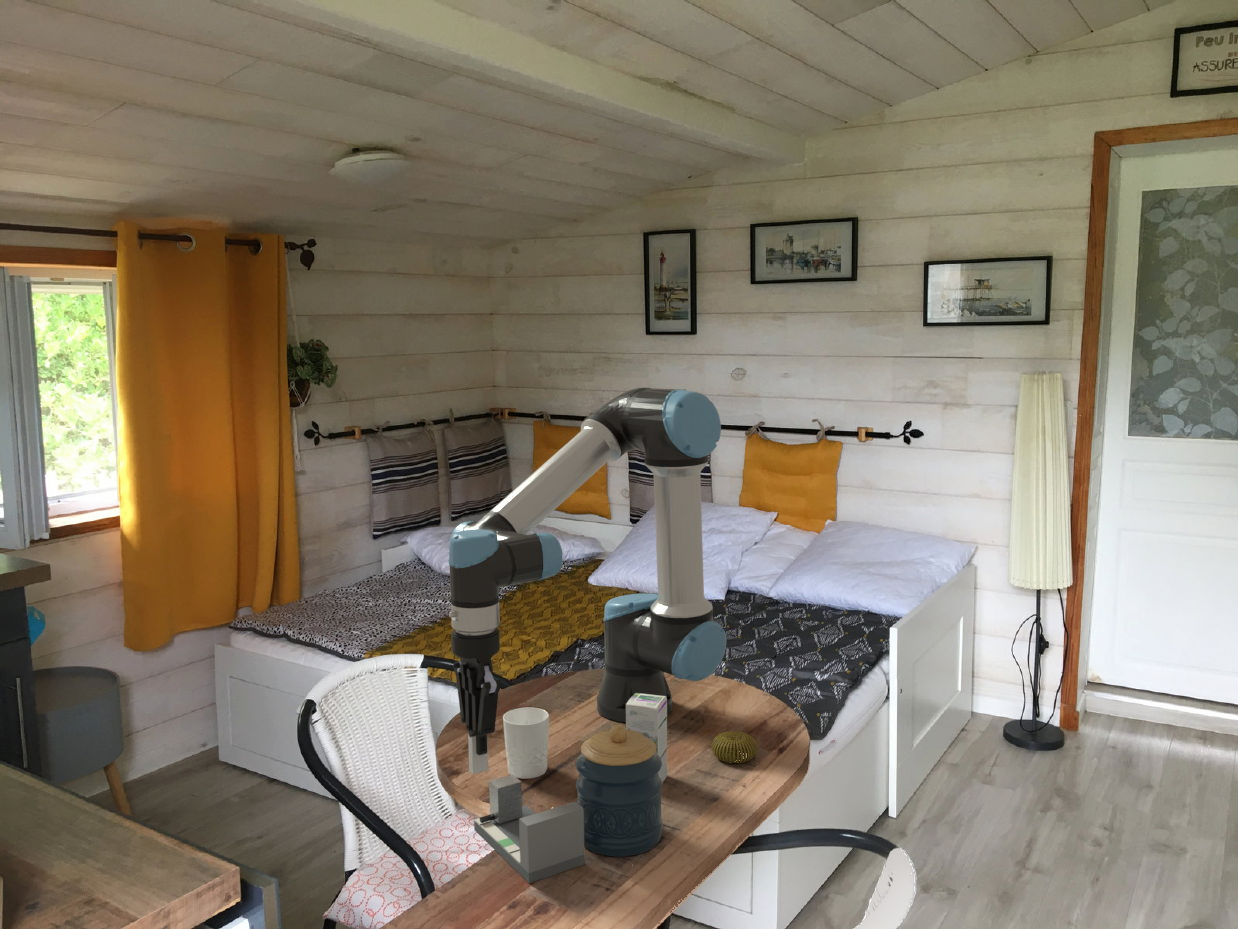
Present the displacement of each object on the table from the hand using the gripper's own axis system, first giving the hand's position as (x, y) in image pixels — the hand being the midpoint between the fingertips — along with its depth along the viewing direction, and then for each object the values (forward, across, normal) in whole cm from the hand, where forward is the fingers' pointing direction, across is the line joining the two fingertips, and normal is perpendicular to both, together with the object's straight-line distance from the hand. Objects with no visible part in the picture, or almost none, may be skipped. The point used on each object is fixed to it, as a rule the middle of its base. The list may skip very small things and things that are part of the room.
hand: (478, 770), depth 164 cm
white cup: (+6, -7, +12) cm, 15 cm away
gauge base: (+6, +16, 0) cm, 17 cm away
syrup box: (+6, +8, +27) cm, 29 cm away
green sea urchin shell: (+6, +9, +46) cm, 47 cm away
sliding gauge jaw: (+4, +9, -1) cm, 10 cm away
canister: (+6, +21, +13) cm, 26 cm away
